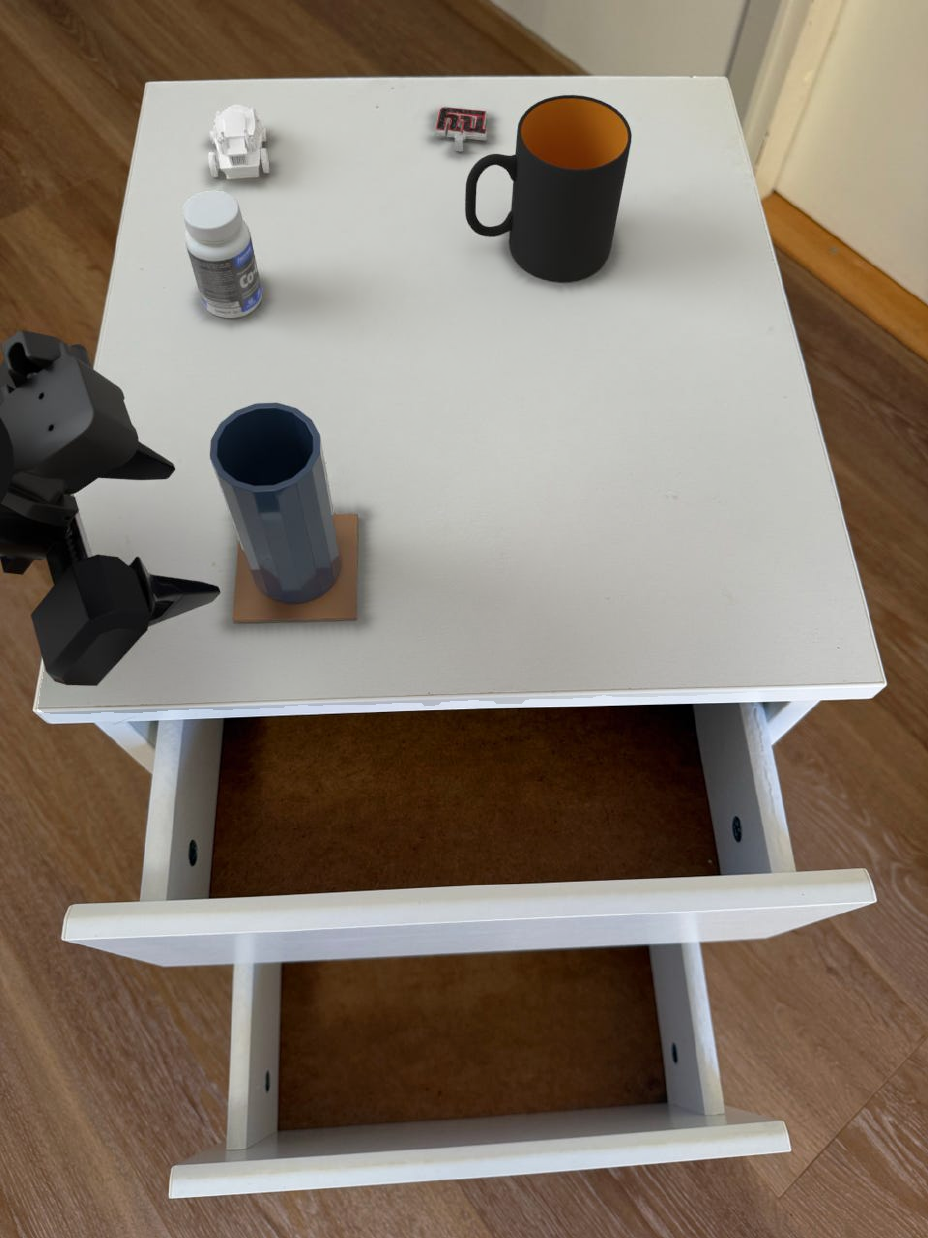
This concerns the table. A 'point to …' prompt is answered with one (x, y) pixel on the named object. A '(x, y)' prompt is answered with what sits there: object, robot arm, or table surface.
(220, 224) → the pill bottle
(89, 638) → the robot arm
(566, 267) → the mug
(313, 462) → the cup
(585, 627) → the table surface
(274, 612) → the cork coaster
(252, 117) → the toy car
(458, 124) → the pendant
